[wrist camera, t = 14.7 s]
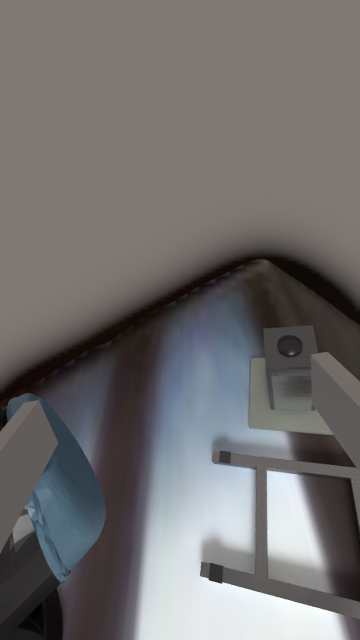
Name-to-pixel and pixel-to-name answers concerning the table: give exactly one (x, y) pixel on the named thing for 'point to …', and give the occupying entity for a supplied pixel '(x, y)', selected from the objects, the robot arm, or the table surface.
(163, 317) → the table surface
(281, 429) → the pad
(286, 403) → the tall box with knob
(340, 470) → the rail frame
